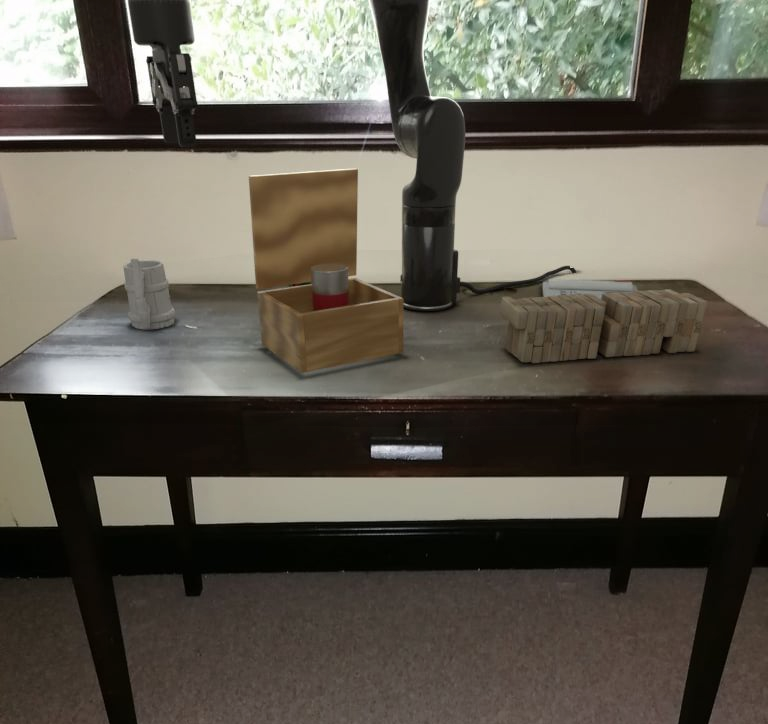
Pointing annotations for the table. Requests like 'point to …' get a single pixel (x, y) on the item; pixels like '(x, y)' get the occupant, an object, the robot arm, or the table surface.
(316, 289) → the can
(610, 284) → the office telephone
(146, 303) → the mug
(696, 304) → the block tower
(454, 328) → the table surface
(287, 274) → the lid
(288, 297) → the chest
